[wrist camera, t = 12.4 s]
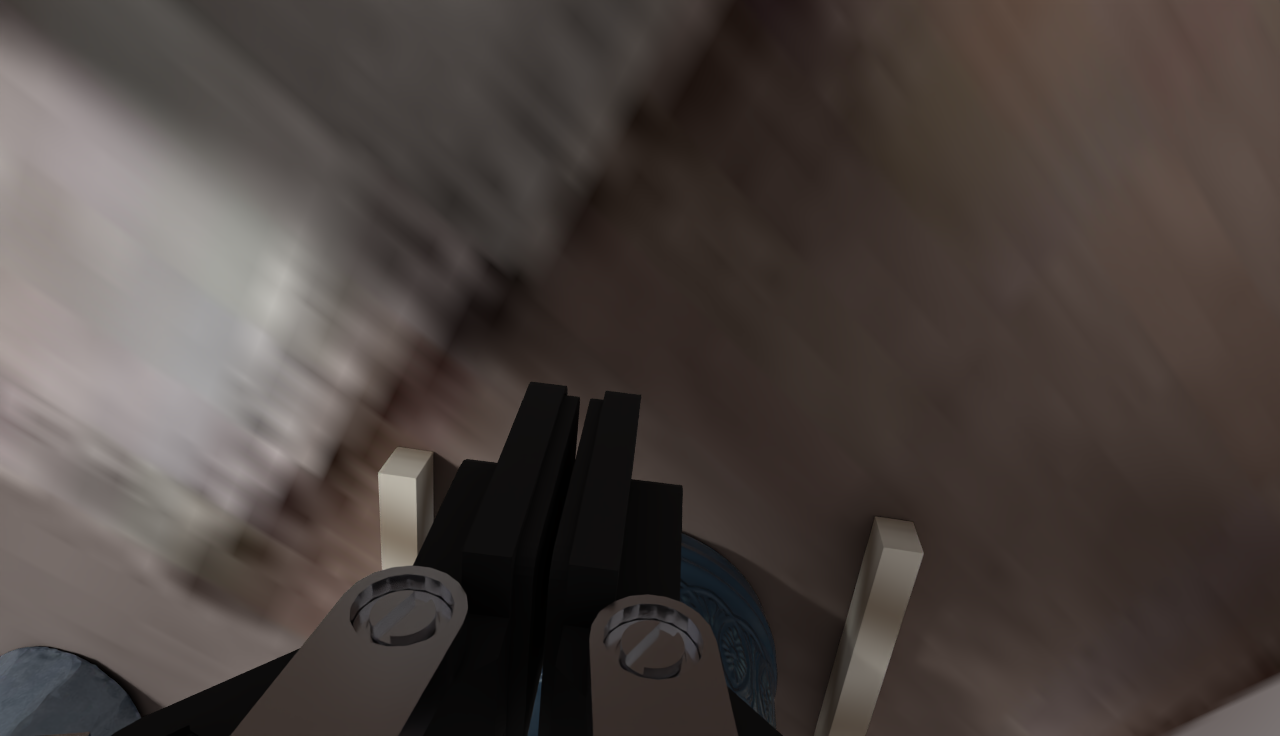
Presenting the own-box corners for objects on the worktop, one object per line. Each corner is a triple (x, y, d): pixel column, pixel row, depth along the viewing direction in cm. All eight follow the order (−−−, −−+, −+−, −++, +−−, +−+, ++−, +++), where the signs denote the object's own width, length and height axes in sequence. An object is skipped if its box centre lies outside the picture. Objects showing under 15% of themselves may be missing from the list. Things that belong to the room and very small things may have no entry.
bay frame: (397, 446, 33) (378, 472, 31) (913, 522, 32) (923, 553, 30) (406, 772, 41) (391, 807, 40) (815, 839, 40) (819, 879, 39)
